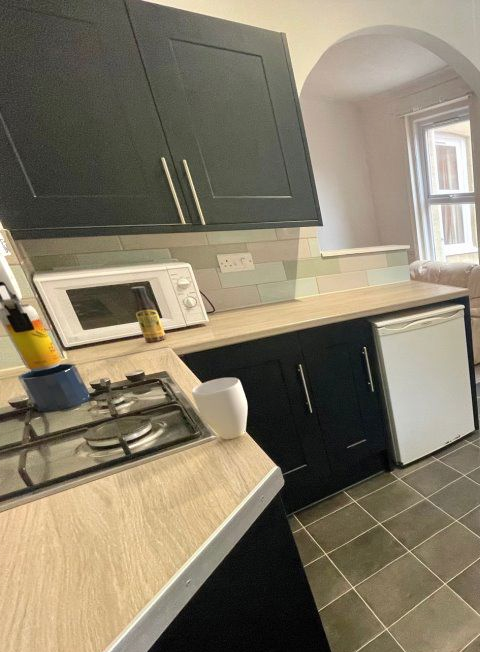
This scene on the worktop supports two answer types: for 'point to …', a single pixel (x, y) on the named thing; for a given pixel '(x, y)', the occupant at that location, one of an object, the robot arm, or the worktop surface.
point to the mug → (222, 406)
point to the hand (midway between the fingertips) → (24, 328)
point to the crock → (55, 388)
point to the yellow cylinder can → (32, 342)
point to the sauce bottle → (147, 316)
